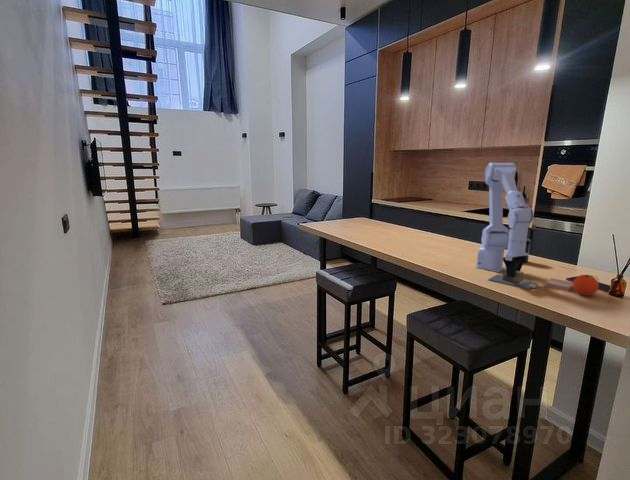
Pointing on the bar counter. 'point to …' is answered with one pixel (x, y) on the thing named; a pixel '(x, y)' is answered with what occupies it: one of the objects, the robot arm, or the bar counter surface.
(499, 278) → the mat
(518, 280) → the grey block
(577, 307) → the bar counter surface
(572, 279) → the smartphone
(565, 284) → the tile
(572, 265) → the bar counter surface
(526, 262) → the supplement container
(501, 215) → the robot arm
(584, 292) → the clementine
